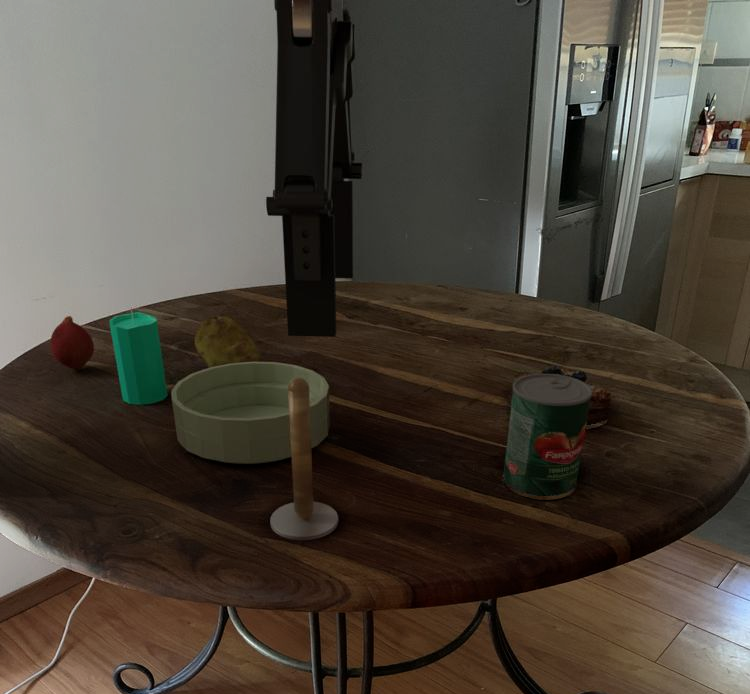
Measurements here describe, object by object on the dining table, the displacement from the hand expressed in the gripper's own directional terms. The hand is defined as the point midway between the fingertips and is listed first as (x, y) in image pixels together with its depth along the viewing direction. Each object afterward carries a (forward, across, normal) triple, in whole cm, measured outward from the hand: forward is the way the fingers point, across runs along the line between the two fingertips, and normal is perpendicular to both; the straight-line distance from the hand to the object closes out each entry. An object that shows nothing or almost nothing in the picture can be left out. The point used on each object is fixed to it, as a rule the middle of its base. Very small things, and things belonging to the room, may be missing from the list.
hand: (324, 302), depth 48 cm
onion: (+26, +53, +43) cm, 72 cm away
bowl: (+25, +33, +13) cm, 43 cm away
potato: (+26, +52, +20) cm, 61 cm away
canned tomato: (+26, +23, -20) cm, 40 cm away
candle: (+26, +44, +30) cm, 59 cm away
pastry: (+26, +42, -25) cm, 55 cm away
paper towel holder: (+25, +11, +4) cm, 28 cm away
